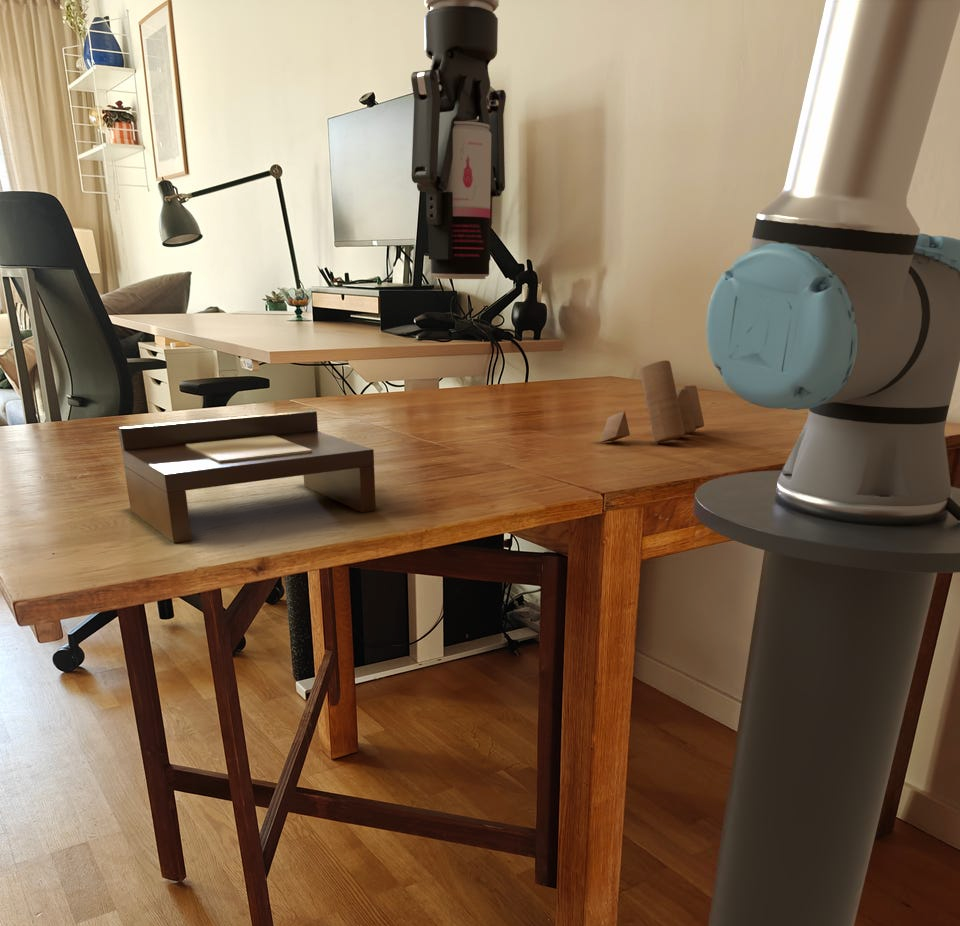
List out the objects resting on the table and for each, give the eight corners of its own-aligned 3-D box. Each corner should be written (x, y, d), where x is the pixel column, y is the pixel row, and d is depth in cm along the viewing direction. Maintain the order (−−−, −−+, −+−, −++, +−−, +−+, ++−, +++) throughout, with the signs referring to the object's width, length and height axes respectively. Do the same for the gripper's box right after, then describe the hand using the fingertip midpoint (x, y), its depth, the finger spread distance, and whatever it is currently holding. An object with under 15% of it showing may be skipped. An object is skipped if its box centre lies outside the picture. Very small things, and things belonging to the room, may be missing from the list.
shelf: (376, 510, 85) (373, 428, 82) (173, 543, 74) (161, 450, 71) (317, 484, 95) (312, 410, 92) (130, 510, 84) (117, 427, 81)
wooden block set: (681, 445, 131) (667, 378, 130) (729, 429, 124) (715, 358, 123) (602, 455, 120) (586, 381, 119) (650, 438, 113) (634, 360, 112)
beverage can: (489, 278, 100) (491, 130, 94) (488, 279, 94) (491, 121, 88) (433, 277, 101) (432, 129, 95) (429, 278, 95) (427, 120, 89)
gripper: (485, 37, 97) (482, 260, 106) (368, -6, 82) (377, 258, 91) (542, 28, 93) (534, 261, 102) (430, -19, 78) (432, 258, 87)
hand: (460, 259), depth 97 cm, fingers closed on beverage can, 6 cm apart
